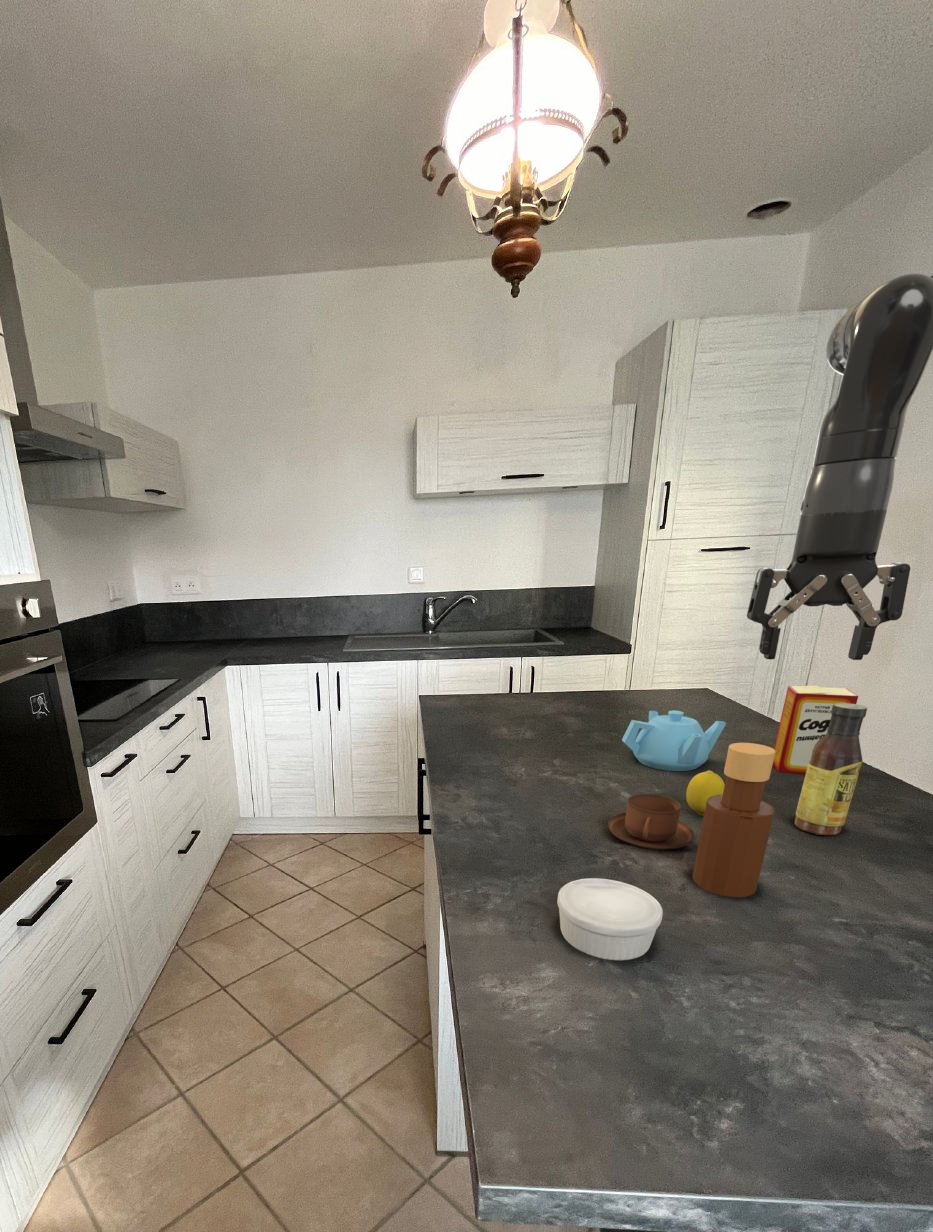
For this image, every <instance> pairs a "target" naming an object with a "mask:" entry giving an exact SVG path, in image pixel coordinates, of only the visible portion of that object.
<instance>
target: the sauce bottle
mask: <svg viewBox="0 0 933 1232" xmlns="http://www.w3.org/2000/svg"><path fill="white" fill-rule="evenodd" d="M867 711H868V707H867V706H865V705H862V704H858V703H856V704H849V703H836V704H834V705H833V706H832V711H831V714H832V716H831V720H830V724H829V727H828V729H827V734H826V735H825V736H824V737H823V738H822V739H820V740H819V741H818V742H817V743H816V744H815V746H814V748H813V751H812V756H811V760H810V761H809V764H808V767H807V771H806V774H804V775H805V776H804V779H803V783H802V787H801V791H800V795H799V799H798V803H797V807H796V811H795V818H794V825H795V826H796V828H798V829H799V830H801V831H803V832H806V833H809V834H813V835H817V836H837V835H839V834H840V833H841V831H842V828H843V826H844V825H845V824H846V820H847V816H848V812H849V809H850V806H851V801H852V799H853V796H854V793H855V789H856V785H857V782H858V778H859V774H860V771H861V767H862V764H863V754H862V748H861V742H860V735H861V733H860V731H861V728H862V724H863V722H864V718H865V717H866V716H867Z"/></svg>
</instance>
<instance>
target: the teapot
mask: <svg viewBox="0 0 933 1232" xmlns="http://www.w3.org/2000/svg"><path fill="white" fill-rule="evenodd" d="M684 715H685V712H683V711H680V710H669V711H668V714H662V715H659V711H656V710H649V711H648V722H647V721H641V720H635V719H631V721H630V723H629V725H628V727H627V729H626V731H625V733H624V735H623V737H622V739H621V741H622V742H623V743H624V744H625V745H626V746H627V747H628V748H629V749H630V750H631V751H632V753H633V755H634V757H635V758H636V759H637V760H638V762H639V763H641V764H642V765H643V766H646V767H649V768H652V769H657V770H661V771H662V770H663V771H671V772H688V771H693V770H697V769H698V768H699V767H701V766H702V765H703V764H705V763H706V762H707V760H708V759H709V754H710V753H711V751H712V750H713V748H714V746H715V744H716V743H717V741H718V739H719V737H721V736H720V735H721V734H722V733H723V730H724V728H725V727H726V725H727V722H725V721H723V720H715V721H714V723H713V724H712V725H711V726H709V727H708V729H706V730H705V731H704V730H703V727H702V726H701V724H700V723H699V721H698V720H697V719H694V718H692V717H689V716H684ZM640 729H641V730H640ZM639 730H640V731H639Z"/></svg>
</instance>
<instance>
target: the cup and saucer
mask: <svg viewBox="0 0 933 1232" xmlns="http://www.w3.org/2000/svg"><path fill="white" fill-rule="evenodd" d="M626 802H627V804H626V810H625V811H626V812H623V813H618V814H615V815H613V816H612V817H610V818H609V820H608V822H607V826H608V829H609V831H610V832H611V833H612V834H613V835H614V836H615V837H616V838H617V839H619V840H620V841H623V842H624V843H627V844H629V845H632V846H635V847H638V848H643V849H649V850H656V851H657V850H659V851H660V850H661V851H669V850H675V849H679V848H683V847H685V846H687V845H689V844H690V843H691V842H692V841H693V839H694V837H695V832H694V830H693V829H692V828H691V826H689V825H687V824H686V823H684V822H682V821H681V820H679V819H680V814H681V809H682V805H681V803H680V802H679V801H677V800H676V799H674V798H671V797H669V796H667V795H666V796H665V795H661V794H656V793H637V794H632V795H631V796H628V797H627V801H626Z"/></svg>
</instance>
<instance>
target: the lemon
mask: <svg viewBox="0 0 933 1232" xmlns="http://www.w3.org/2000/svg"><path fill="white" fill-rule="evenodd" d="M724 786H725V782H724V780H723V779H722V777H721V776H720V775H718V774H717V773H715V772H713V771H712V770H707V771H703V772H700V773H699V772H698V773H697V774H695V775H694V776H693V777H692V778H691V780H690V781H689V783H688V785H687V788H686V791H685V792H686V793H685V797H686V803H687V805H688V806H689V808H690V809H692V810H693V811H694V812H696V813H697V814H698V815H699V816H703V817H704V813H705V808H706V803H707V800H708V799H709V797H711V796H715V795H723V791H724Z"/></svg>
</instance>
